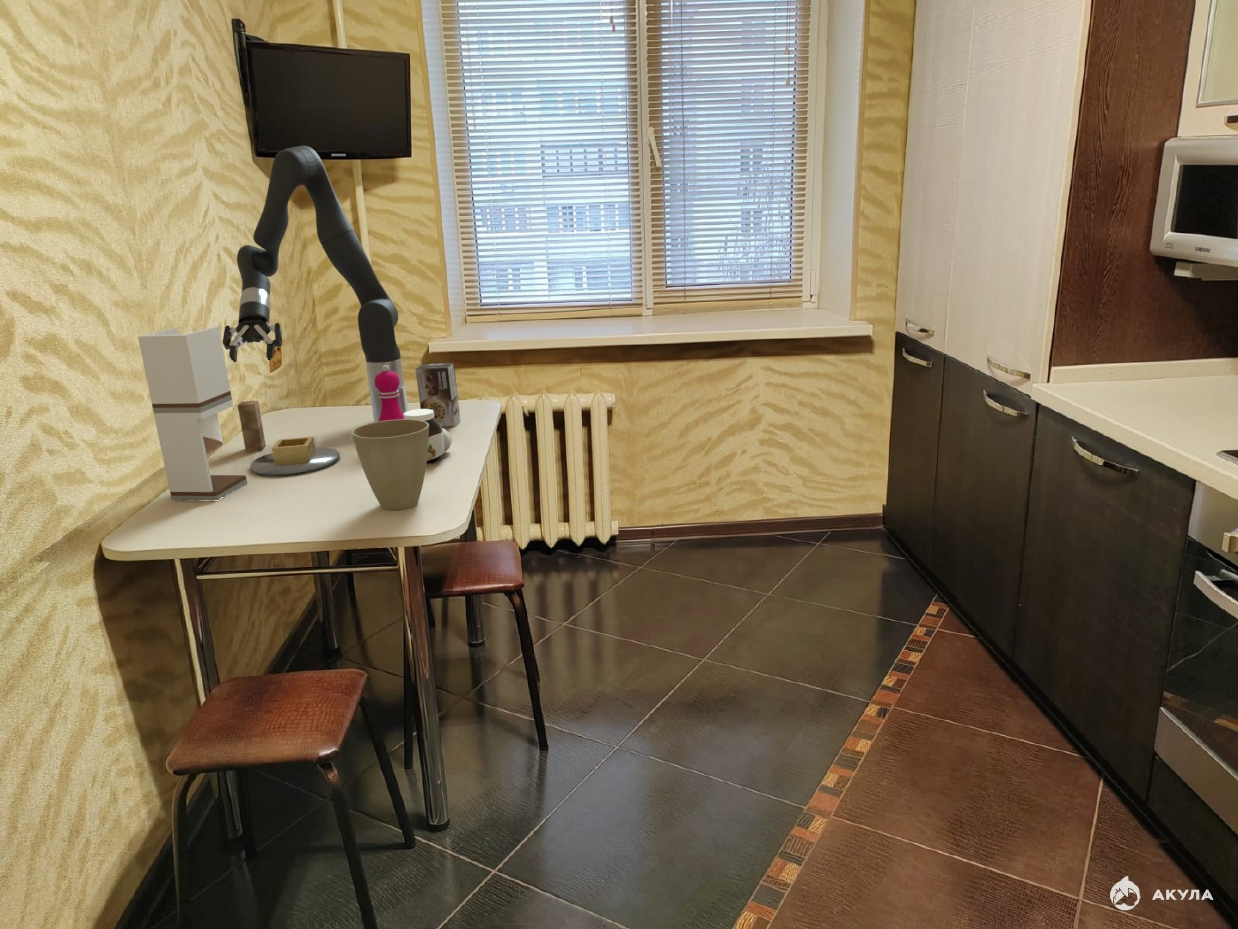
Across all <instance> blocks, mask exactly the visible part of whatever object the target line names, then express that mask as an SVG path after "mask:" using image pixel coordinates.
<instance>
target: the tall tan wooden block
mask: <svg viewBox="0 0 1238 929" xmlns="http://www.w3.org/2000/svg"><path fill="white" fill-rule="evenodd" d="M237 409H238V410H237V411H238V415H239V421H240V426H241V427H240V428H241V432H242V438H243V445H244V449H245V453H249V452H260V451H261V452H262V451H264V449H265V448H266V447H267V445H266V439H265V434H264V427H263V421H262V416H261V410H260V404H259V400H248V401H247V400H246V401H240V403H238V404H237Z"/></svg>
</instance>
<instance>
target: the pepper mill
mask: <svg viewBox="0 0 1238 929" xmlns="http://www.w3.org/2000/svg"><path fill="white" fill-rule="evenodd" d="M382 370H383V372H380V373H378V374H377V376H376V377H375V386H376V387H377V388H378V389H379V392H378V394H379V398H381V404H382V408H381V414H380V418H379V421H378V422H380V421H387V420H397V419H404V414H403V413H402V411H401V409H400V406H399V403H398V396H399V390H398V389H397V388H398V386H399V384H400V380H399V377H398V375H397V374H396V373H395V372H392V371H389V366H388V365H383V366H382Z"/></svg>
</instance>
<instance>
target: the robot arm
mask: <svg viewBox="0 0 1238 929" xmlns="http://www.w3.org/2000/svg"><path fill="white" fill-rule="evenodd" d="M331 182H332V181H331V180H330V178H329V175H328V173H327V171H326V168H325V164H324V163H323V161H322V159H321V157H320V155H319V154H318V153H317V151H315V150H314V149H313V148H312V147H310V146H307V145H300V146H293V147H287V148H285V149H282V150H280V151H279V152H277V153H276V155H275V156H274V158H273V163H272V166H271V172H270V177H269V181H268V188H267V193H266V197H265V202H264V205H263V210H262V211H261V215H260V217H259V220H258V221H257V222H258V223H257V224H256V227H255V230H254V233H253V236H252V238H253V241H254V242H255V244H256V245H257V246H258V247H257V246H254V245H250V244H245V245H243V246H241V247H240V248H239V249H238V251H237V254H236V262H237V267H238V268H237V269H238V271H239V274H240V277H241V284H242V285H241V295H240V299H239V307H238V308H239V310H238V322H237V323H238V324H237V326H236V327H230V325H225V327H224V331H223V335H222V336H223V337H222V346H223V348H224V349H225V350H229V355H228V356H229V358H230V360H231V361H232V362H233V363H237V362H238V352H239V350H238V349H239V348H241V347H243V346H244V345H245V344H246V343H247V344H251V343H260V342H263V343H264V344H265V345H266V354H265V356H266V359H267V361H272V359H273V358H274V357H275V355H274V354H275V349H276V348H277V347H280V348H281V347H282V346H283V331H282V327H281V324H280V323H279V322H275V323H274V325H270V317H271V316H270V314H271V298H270V296H271V282H270V279H269V278H270V277H273V276H274V275H275V274H276V273H277V271H278V269H279V257H280V256H279V255H280V254H279V253H280V249H281V244H282V241H283V239H284V237H285V234H286V231H287V229H288V227H289V221H290V220H289V218H290V217H289V209H288V208H289V206H288V205H289V201H290V199H291V196H292V195H293V194H294V191H295V190H296V188H297V187H300V186H304V188H305V189H306V191H307V193H308V194H309V196H310V199H311V201H312V203H313V206H314V210H315V225H316V234H317V238H318V240H319V243H320V245H321V247H322V249H323V251H324V253H325V255H326V257H327V258H328V260H329V261H330V262H331V264H332V266H333V267H334V269H336V270H337V272H338V273H339V274H340V275H341V276H342V277H343V279H344V280H345V281H346V282H347V283H348V284H349V286H350V287H351V289H352V290H353V292H354V294H355V296H356V299H357V300H358V302H359V304H360V306H361V307H360V308H359V311H358V314H357V324H358V333H359V340H360V344H361V349H362V351H363V354H364V356H365V365H366V373H367V379H368V387H369V394H370V402H371V410H372V416H373V423H374V422H378V421H379V418H380V414H381V408H382V404H381V398H379V394H378V392H379V389H378V388H377V387H376V386H375V377H376V376H377V374H378V373H380V372H383V370H382V366H383V365H388V366H389V371H392V372H395V373H396V374H397V375H398V377H399V380H400V384H399V386H398V388H397V389H398V390H399V396H398V403H399V406H400V409H401V411H402V413H403V414H404V413H405V412H407V411H409V407H408V396H407V389H406V384H405V382H404V375H403V374H404V372H403V367H402V365H403V364H402V363H403V362H402V356H401V349H400V347H399V346H398V345H397V344H398V343H397V341H396V333H395V327H397V324H398V321H399V311H398V309H397V307H396V304H394V301H393V300H392V299H391V297H390V296H389V294H388V293H387V291H386V290H385V288H384V287H383V285H382V284H381V282H380V281H379V279H378V276H377V274H376V273H375V271H374V268H373V266H372V264H371V262H370V260H369V258H368V256H367V254H366V251H365V250H364V248H363V245H362V243H361V241H360V240H359V238H358V236H357V234H356V232H355V230H354V227H353V226H352V225H351V222H350V221H349V219H348V217H347V215H346V213H345V211H344V209H343V206H342V205H341V203H340V201H339V199H338V196H337V194H336V192H335V190H334V187H333V185H332V183H331ZM271 331H272V333H273V334H274V339H271V337H270V336H269V334H270V333H271ZM235 334H236V335H235ZM232 337H234V338H232Z"/></svg>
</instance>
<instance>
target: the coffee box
mask: <svg viewBox="0 0 1238 929" xmlns="http://www.w3.org/2000/svg"><path fill="white" fill-rule="evenodd" d="M414 370H415V376H416V384H417V385H416V386H417V391H418V400H419V409H431V410H433V411H434V419H436V420H437V421H438V422H439V423H440V425H441V426H442V428H443V427H446V428H447V427H455V426H457V425H458V424H459V423H460V422H461V416H460V414H461V413H460V406H459V405H460V403H459V396H458V395H459V394H458V388H457V387H458V386H457V379H456V370H455V363H454V362H444V363H441V362H440V363H422V364H421V365H419V366H418V367H416V368H415V369H414Z"/></svg>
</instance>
